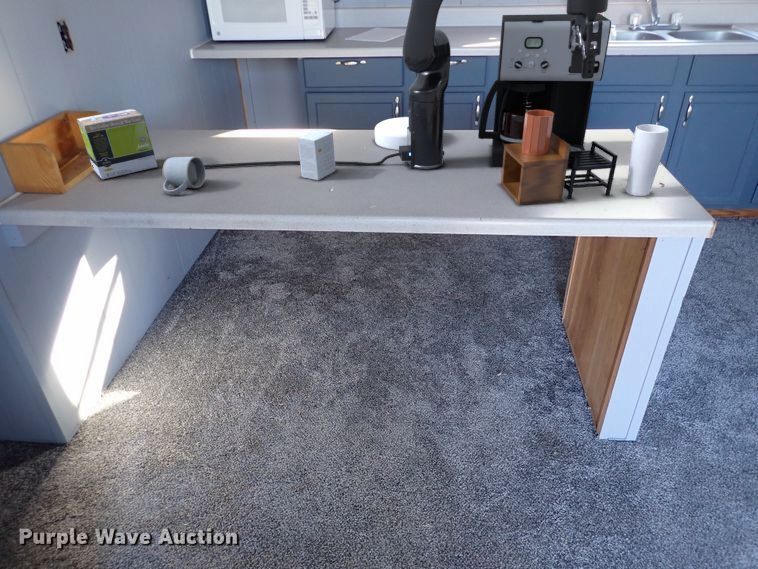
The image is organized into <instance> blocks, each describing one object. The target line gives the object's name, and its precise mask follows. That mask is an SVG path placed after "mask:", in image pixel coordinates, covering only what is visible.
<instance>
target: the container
mask: <svg viewBox="0 0 758 569" xmlns="http://www.w3.org/2000/svg"><path fill="white" fill-rule="evenodd" d="M407 127H409V116H399V117H393V118H388V119H384V120H382V121H380V122H378V123H377V124H375V126H374V142H375V144H376V145H378V146H379V147H381V148H384V149H388V150H389V149H390V150H395V151H399V146H406V145H407Z"/></svg>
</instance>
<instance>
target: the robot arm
mask: <svg viewBox="0 0 758 569" xmlns="http://www.w3.org/2000/svg"><path fill="white" fill-rule="evenodd" d="M443 2H444V0H411V2H410V3H411V6H410V9H409V15H408V19H407V24H406V29H405V34H404V38H403V43H402V59H403V63H404V65H405V67H406V68H407V70H409V71H410V72H411V73H413V74H417V75H416V78H415V80H414V81H413V83H412V84H411V85H410V86H409V87H408V88H409V89H408V117H409V127H407V145H406V146H399V150H398V152H396V153H391V154H389V155H388V154H387V155H386V156H384V157H383V158H382V159H381V160H380V161H375V162H362V161H343V160H342V161H339V160H338V161H337V160H335V165H344V166H345V165H347V166H348V165H349V166H350V165H354V166H366V167H367V166H368V167H369V166H379V165H381V164H382V165H383V163H385V161H387V160H389V159H392V158H395V157H400V160H401V162H407V164H408V166H409V168H410V169H417V170H433V169H438V168H440V167H443V164H444V157H445V151H444V135H445V134H444V132H445V131H444V129H445V103H446V102H445V100H446V91H447V90H448V86H449V81H450V70H451V59H452V58H451V54H452V52H451V50H452V49H451V43H450V39H449V37H448V36H447V34H446V33H445V32H444V31H443V30H441V29H439V28H437V27H436V26H437V20H438V15H439V12H440V9H441V6H442V4H443ZM608 6H609V0H566V14H568V15H577V16H576V18H573V19H571V21H570V35H569V45H568V48H569V49H570V52H571V54H572V55H571V69H570V71H571V72H572V73H579V72H581V71H582V74H581V77H582V78H583V79H590V78H593V76H594V66H595V58H596V57H597V55H600V53H601V38H602V25H603V22H602V21H597V14H602V13H606V12H607V11H608V8H609V7H608ZM590 48H592V49H590ZM263 165H264V166H267V165H301V164H300V160H273V161H271V160H270V161H250V162H249V161H248V162H232V163H212V164H211V163H210V164H204V167H205V169H207V168H224V167H225V168H227V167H242V166H243V167H244V166H245V167H246V166H263Z"/></svg>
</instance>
